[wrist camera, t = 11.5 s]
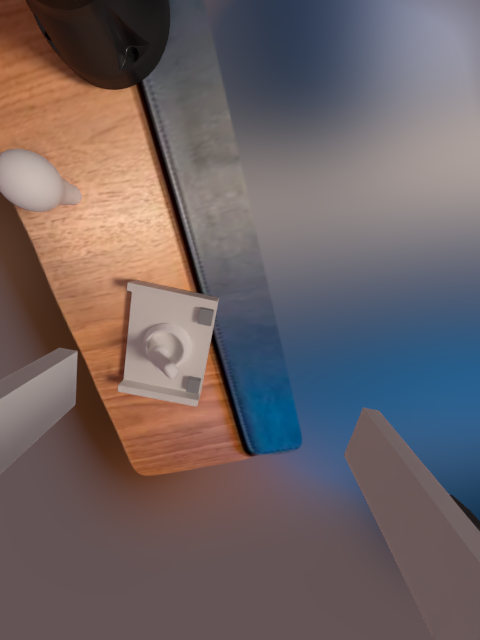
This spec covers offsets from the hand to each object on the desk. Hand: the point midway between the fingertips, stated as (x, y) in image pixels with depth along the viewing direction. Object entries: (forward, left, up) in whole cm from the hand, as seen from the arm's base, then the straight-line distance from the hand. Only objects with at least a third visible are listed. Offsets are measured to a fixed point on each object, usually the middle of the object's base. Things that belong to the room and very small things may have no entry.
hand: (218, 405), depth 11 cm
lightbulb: (-9, -25, -29) cm, 39 cm away
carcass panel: (+10, -9, -29) cm, 32 cm away
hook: (+10, -9, -28) cm, 31 cm away
